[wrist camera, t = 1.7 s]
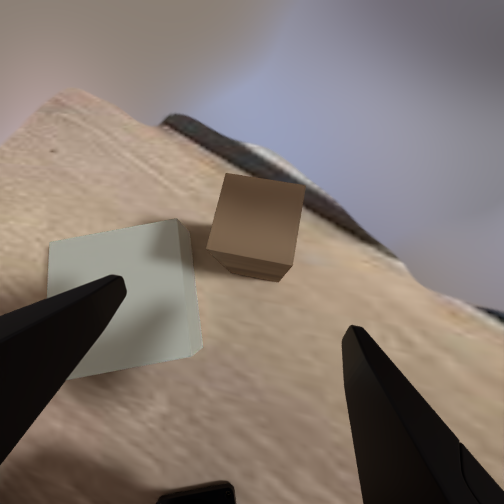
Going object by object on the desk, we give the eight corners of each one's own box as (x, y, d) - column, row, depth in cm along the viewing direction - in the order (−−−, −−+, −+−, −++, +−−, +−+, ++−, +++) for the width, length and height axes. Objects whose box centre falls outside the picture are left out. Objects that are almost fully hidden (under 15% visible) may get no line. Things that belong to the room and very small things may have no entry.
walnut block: (278, 282, 21) (292, 265, 12) (230, 272, 22) (205, 249, 12) (286, 235, 22) (305, 185, 13) (240, 227, 23) (225, 172, 13)
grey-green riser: (83, 369, 21) (42, 384, 17) (84, 252, 23) (49, 242, 20) (204, 346, 21) (191, 356, 17) (190, 232, 23) (176, 218, 20)
